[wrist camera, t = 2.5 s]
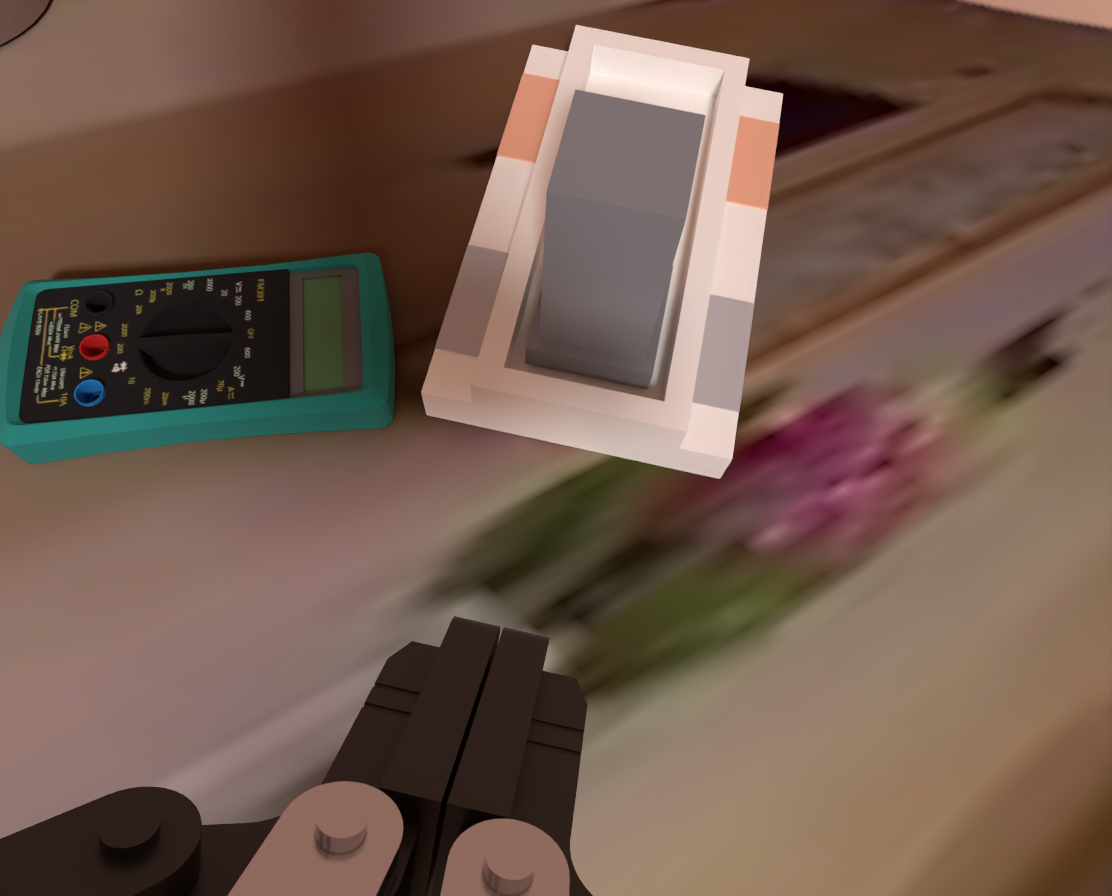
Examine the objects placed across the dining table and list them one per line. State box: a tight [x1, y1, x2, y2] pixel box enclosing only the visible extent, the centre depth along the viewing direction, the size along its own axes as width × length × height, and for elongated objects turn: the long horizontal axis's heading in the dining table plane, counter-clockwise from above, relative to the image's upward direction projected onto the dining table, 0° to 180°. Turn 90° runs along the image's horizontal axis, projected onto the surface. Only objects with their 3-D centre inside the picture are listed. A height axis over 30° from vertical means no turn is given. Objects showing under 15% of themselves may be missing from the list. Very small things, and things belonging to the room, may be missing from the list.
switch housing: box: [421, 25, 783, 479], centre depth 34 cm, size 12×19×4 cm, turn 168°
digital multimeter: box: [0, 252, 395, 464], centre depth 32 cm, size 7×15×3 cm, turn 98°
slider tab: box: [525, 89, 706, 389], centre depth 28 cm, size 5×5×9 cm
